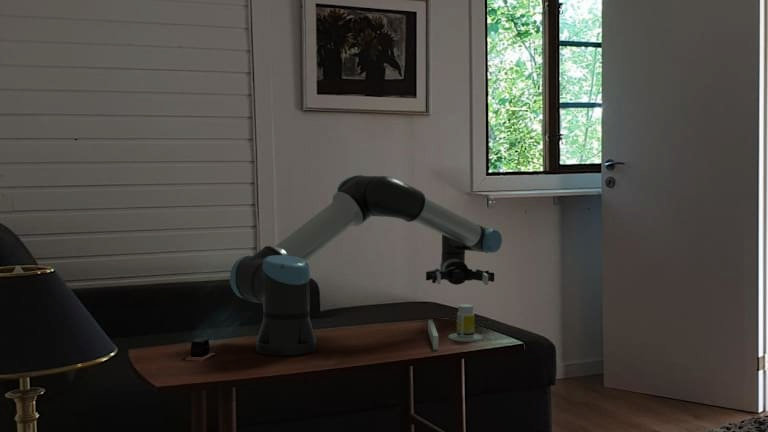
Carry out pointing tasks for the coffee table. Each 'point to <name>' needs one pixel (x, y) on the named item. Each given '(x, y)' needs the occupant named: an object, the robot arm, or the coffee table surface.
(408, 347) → the coffee table surface
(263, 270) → the robot arm
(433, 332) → the low wall
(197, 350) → the black block
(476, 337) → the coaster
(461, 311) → the supplement bottle
